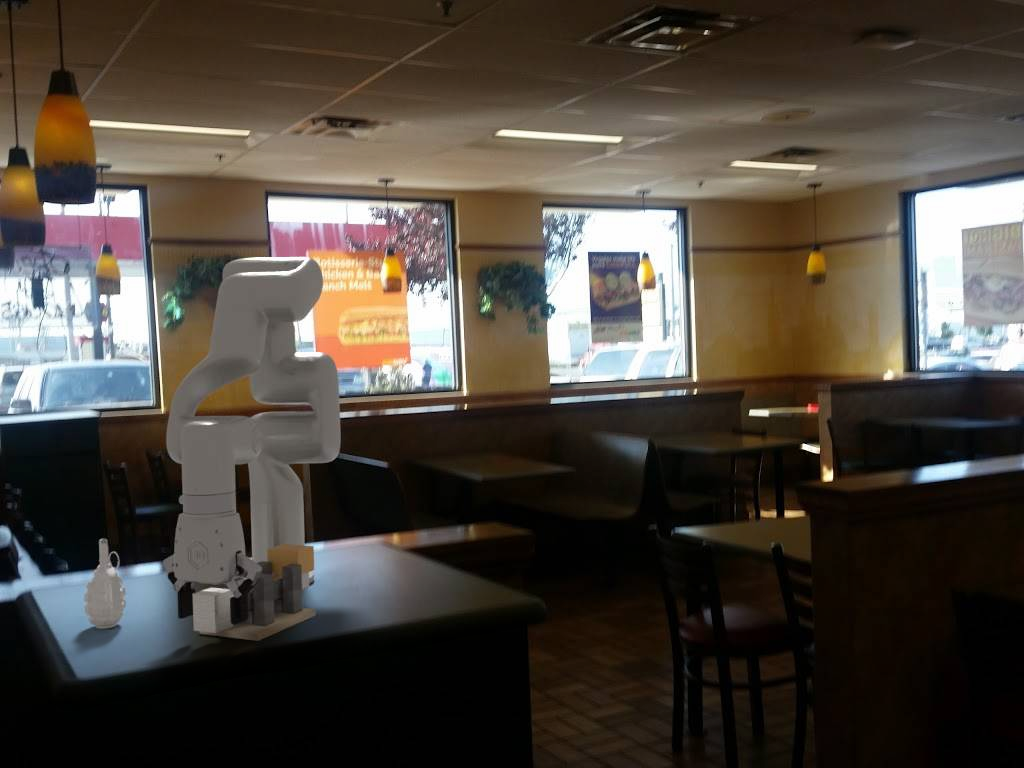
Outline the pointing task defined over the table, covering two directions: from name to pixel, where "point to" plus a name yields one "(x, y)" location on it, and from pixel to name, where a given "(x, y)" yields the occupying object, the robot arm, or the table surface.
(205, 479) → the robot arm
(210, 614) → the block ended bar
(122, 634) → the table surface
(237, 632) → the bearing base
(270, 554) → the block
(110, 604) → the hand grenade
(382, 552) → the table surface
